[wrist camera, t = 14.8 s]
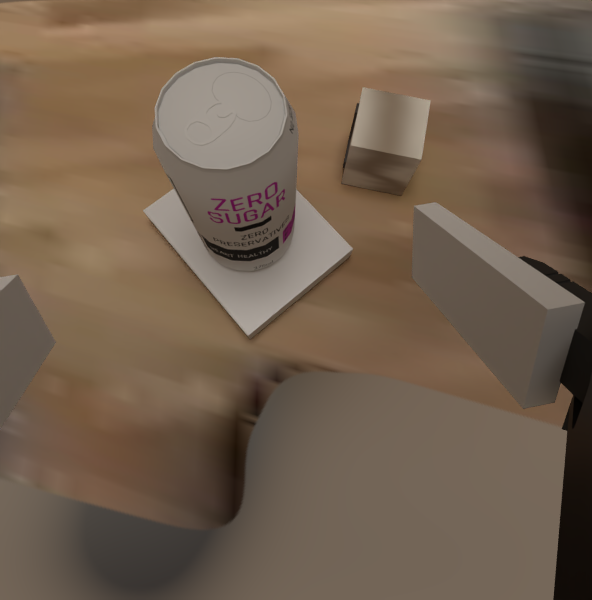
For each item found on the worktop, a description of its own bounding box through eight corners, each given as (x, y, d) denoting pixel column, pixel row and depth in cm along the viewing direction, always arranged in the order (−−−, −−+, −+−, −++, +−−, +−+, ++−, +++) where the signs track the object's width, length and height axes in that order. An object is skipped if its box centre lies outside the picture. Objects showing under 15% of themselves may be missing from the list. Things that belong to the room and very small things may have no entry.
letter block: (409, 144, 40) (430, 100, 34) (401, 195, 39) (421, 159, 33) (350, 132, 40) (360, 86, 35) (339, 183, 39) (348, 144, 33)
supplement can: (247, 172, 37) (220, 23, 22) (312, 228, 36) (330, 109, 21) (183, 231, 35) (109, 112, 21) (249, 292, 34) (221, 211, 19)
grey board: (349, 256, 37) (352, 248, 35) (250, 339, 35) (247, 335, 33) (248, 149, 40) (246, 136, 38) (150, 220, 38) (142, 210, 36)
